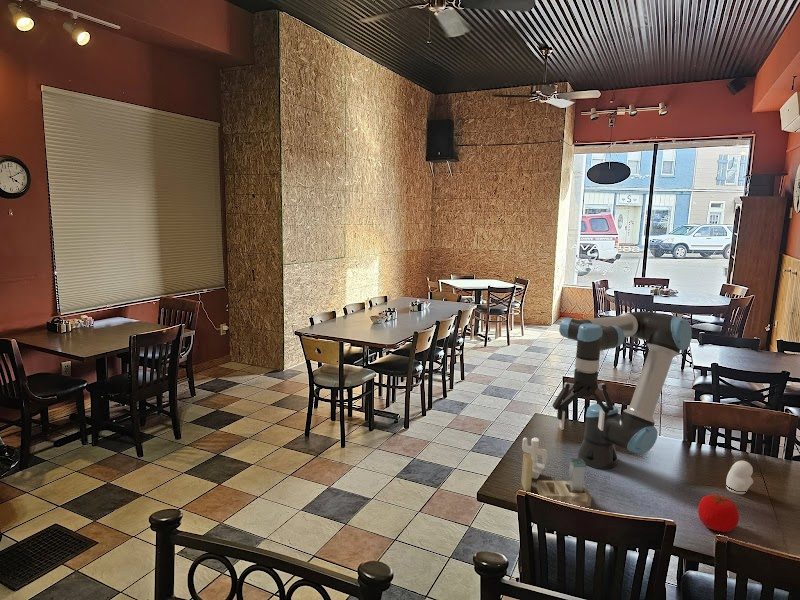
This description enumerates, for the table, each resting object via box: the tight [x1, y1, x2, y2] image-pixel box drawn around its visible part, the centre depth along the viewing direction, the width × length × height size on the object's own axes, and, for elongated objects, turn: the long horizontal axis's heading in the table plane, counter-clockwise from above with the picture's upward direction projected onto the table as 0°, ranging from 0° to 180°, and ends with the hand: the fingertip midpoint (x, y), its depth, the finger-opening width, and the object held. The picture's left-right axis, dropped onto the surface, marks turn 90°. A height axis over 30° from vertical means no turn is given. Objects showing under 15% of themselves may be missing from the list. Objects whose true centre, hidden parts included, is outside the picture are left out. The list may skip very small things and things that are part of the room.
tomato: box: [697, 494, 740, 533], centre depth 172 cm, size 11×12×10 cm
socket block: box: [536, 479, 592, 508], centre depth 186 cm, size 16×10×4 cm, turn 90°
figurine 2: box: [725, 460, 754, 495], centre depth 194 cm, size 7×8×12 cm
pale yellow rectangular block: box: [520, 452, 533, 493], centre depth 192 cm, size 2×6×12 cm, turn 0°
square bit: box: [567, 457, 587, 493], centre depth 185 cm, size 4×4×14 cm
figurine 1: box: [521, 436, 548, 480], centre depth 201 cm, size 7×9×15 cm
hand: (580, 428), depth 182 cm, fingers open, 13 cm apart
